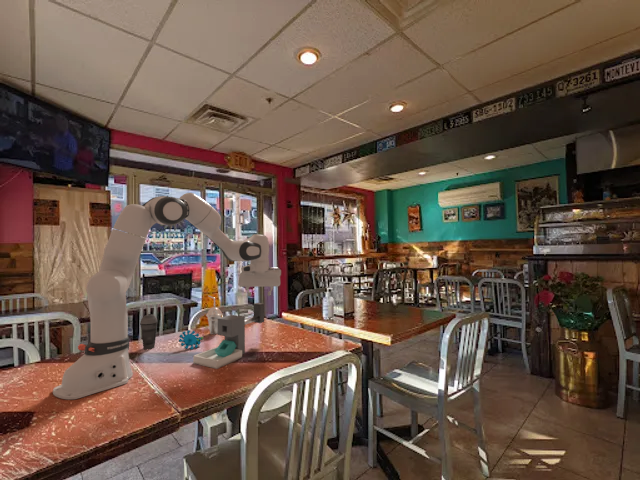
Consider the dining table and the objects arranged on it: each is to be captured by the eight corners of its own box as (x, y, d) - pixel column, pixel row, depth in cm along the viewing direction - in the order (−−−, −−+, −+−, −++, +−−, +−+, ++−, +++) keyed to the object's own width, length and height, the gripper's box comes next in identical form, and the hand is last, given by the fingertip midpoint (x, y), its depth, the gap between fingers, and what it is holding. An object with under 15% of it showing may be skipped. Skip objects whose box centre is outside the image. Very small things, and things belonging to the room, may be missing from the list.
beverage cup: (150, 350, 142) (150, 306, 142) (136, 350, 143) (136, 306, 143) (161, 345, 149) (161, 303, 149) (147, 345, 150) (147, 303, 150)
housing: (231, 359, 131) (231, 320, 131) (217, 356, 134) (217, 318, 135) (244, 353, 138) (244, 316, 138) (231, 350, 141) (231, 314, 142)
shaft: (232, 332, 134) (232, 311, 134) (225, 331, 136) (225, 310, 136) (264, 321, 153) (264, 303, 153) (257, 320, 155) (257, 302, 155)
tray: (216, 369, 120) (216, 361, 120) (193, 363, 126) (193, 355, 126) (242, 357, 132) (242, 350, 133) (219, 352, 139) (219, 345, 139)
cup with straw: (207, 336, 164) (207, 297, 165) (204, 332, 172) (204, 295, 173) (223, 333, 168) (223, 296, 169) (220, 330, 176) (220, 294, 177)
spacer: (225, 353, 129) (233, 341, 133) (214, 351, 132) (223, 339, 136) (228, 357, 130) (236, 346, 135) (217, 355, 133) (226, 344, 137)
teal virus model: (181, 348, 139) (178, 329, 145) (176, 356, 142) (174, 337, 148) (205, 346, 146) (201, 328, 152) (201, 354, 149) (197, 335, 155)
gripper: (281, 267, 158) (281, 294, 158) (239, 267, 156) (239, 295, 156) (281, 267, 152) (280, 296, 152) (237, 267, 150) (237, 297, 149)
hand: (259, 295), depth 154 cm, fingers open, 8 cm apart
